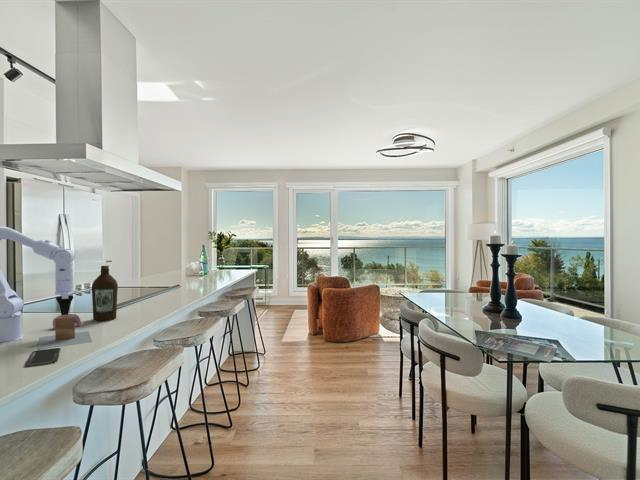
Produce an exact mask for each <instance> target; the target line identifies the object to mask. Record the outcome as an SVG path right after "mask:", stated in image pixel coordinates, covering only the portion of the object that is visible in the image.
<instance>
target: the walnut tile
mask: <svg viewBox="0 0 640 480" xmlns="http://www.w3.org/2000/svg"><path fill="white" fill-rule="evenodd" d="M54 318H55V330H54V331H55V333H54V334H55V341H57V340H64V339H72V338H75V333H76V329H75V328H76V327H75V326H76V325H75V324H76V323H75V316H74V317H64V318H56V317H54Z"/></svg>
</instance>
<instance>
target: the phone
mask: <svg viewBox="0 0 640 480" xmlns="http://www.w3.org/2000/svg"><path fill="white" fill-rule="evenodd" d="M61 348H62V347H61ZM61 348H60V347H53V348H46V349H39V350H38V349H37V350H33V351H32V352H31V354H30V355H29V357H28V359H27V361H26V362H25V368H29V367H30V368H31V367H37V366H44V365H45V364H46V365H52V364H51V363H53V364H56V363H58V360H59V357H60V354H61ZM55 362H56V363H55Z"/></svg>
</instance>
